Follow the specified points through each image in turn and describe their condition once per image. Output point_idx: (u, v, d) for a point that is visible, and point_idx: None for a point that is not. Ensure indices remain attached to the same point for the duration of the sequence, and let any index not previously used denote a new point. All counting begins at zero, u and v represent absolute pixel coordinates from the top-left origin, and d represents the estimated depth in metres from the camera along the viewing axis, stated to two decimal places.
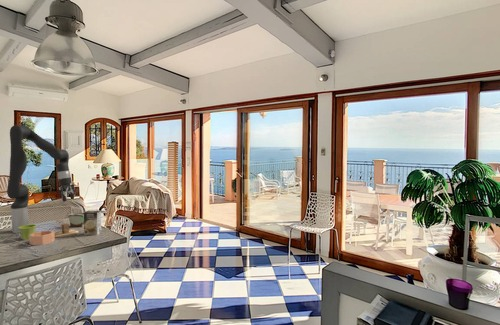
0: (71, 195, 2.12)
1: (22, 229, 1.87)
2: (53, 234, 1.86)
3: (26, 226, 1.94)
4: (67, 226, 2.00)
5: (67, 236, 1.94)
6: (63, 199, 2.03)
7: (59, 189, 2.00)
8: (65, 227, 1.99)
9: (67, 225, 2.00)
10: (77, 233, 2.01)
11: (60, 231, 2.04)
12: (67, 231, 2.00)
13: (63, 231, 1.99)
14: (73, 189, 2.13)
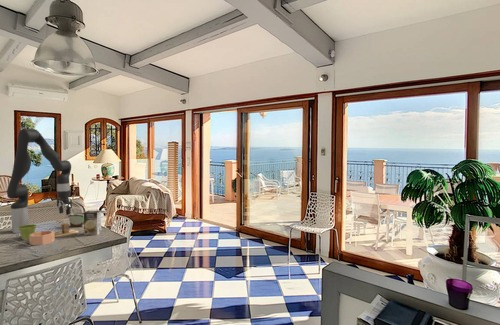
0: (61, 209, 2.01)
1: (22, 229, 1.87)
2: (53, 234, 1.86)
3: (26, 226, 1.94)
4: (67, 226, 2.00)
5: (67, 236, 1.94)
6: (68, 212, 1.97)
7: (69, 201, 1.95)
8: (65, 227, 1.99)
9: (67, 225, 2.00)
10: (77, 233, 2.01)
11: (60, 231, 2.03)
12: (67, 231, 2.00)
13: (63, 231, 1.99)
14: None
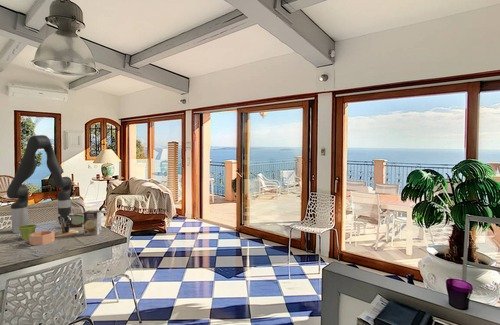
0: None
1: (22, 229, 1.87)
2: (53, 234, 1.86)
3: (26, 226, 1.94)
4: None
5: (67, 236, 1.94)
6: (67, 230, 1.99)
7: (69, 220, 1.96)
8: None
9: None
10: (77, 233, 2.01)
11: (60, 231, 2.04)
12: None
13: (63, 231, 1.99)
14: None
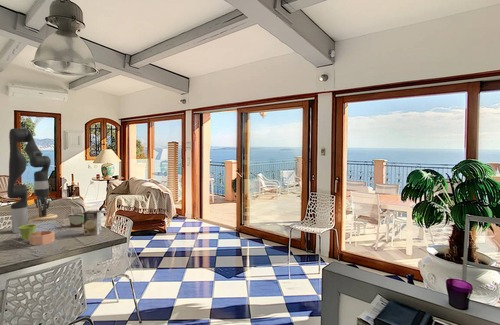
0: None
1: (22, 229, 1.87)
2: (53, 234, 1.86)
3: (26, 226, 1.94)
4: None
5: (44, 220, 1.79)
6: None
7: (47, 203, 1.81)
8: None
9: None
10: (56, 217, 1.86)
11: (37, 215, 1.88)
12: None
13: (40, 215, 1.83)
14: None
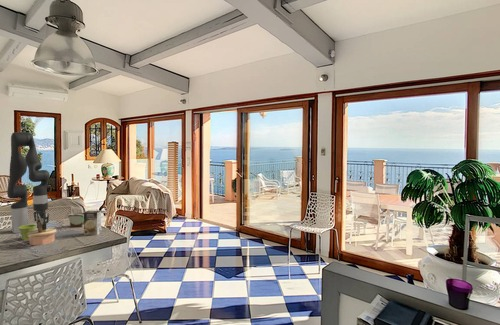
0: None
1: (22, 229, 1.87)
2: (53, 234, 1.86)
3: (26, 226, 1.94)
4: None
5: (43, 235, 1.78)
6: (44, 227, 1.82)
7: (46, 216, 1.80)
8: (41, 225, 1.83)
9: None
10: None
11: (36, 230, 1.87)
12: (43, 230, 1.84)
13: (39, 230, 1.83)
14: None
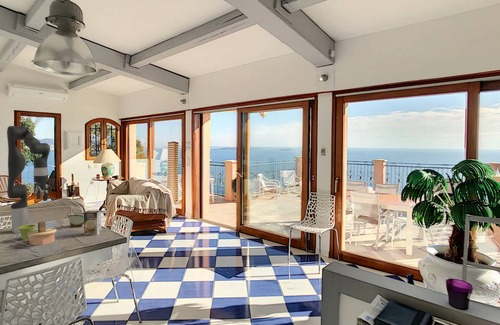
0: (38, 195, 1.89)
1: (22, 229, 1.87)
2: (53, 234, 1.86)
3: (26, 226, 1.94)
4: (44, 224, 1.84)
5: (43, 235, 1.78)
6: (45, 198, 1.85)
7: (46, 187, 1.83)
8: (41, 225, 1.83)
9: (43, 223, 1.84)
10: None
11: (36, 230, 1.87)
12: (43, 230, 1.84)
13: (39, 230, 1.83)
14: None
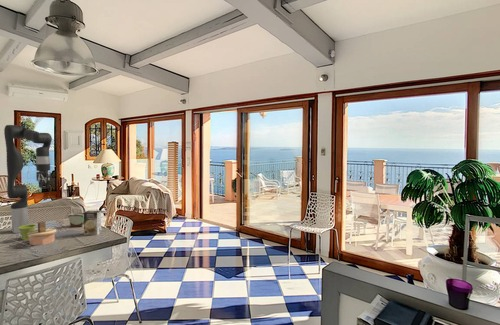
0: (40, 183, 1.95)
1: (22, 229, 1.87)
2: (53, 234, 1.86)
3: (26, 226, 1.94)
4: (44, 224, 1.84)
5: (43, 235, 1.78)
6: (47, 186, 1.91)
7: (48, 174, 1.90)
8: (41, 225, 1.83)
9: (43, 223, 1.84)
10: None
11: (36, 230, 1.87)
12: (43, 230, 1.84)
13: (39, 230, 1.83)
14: None
